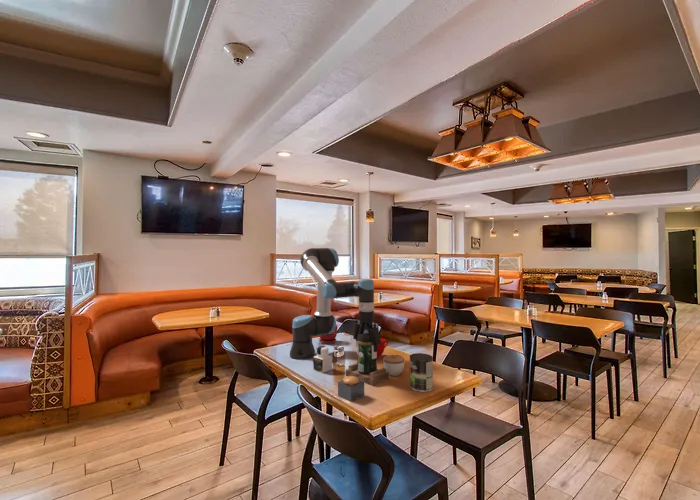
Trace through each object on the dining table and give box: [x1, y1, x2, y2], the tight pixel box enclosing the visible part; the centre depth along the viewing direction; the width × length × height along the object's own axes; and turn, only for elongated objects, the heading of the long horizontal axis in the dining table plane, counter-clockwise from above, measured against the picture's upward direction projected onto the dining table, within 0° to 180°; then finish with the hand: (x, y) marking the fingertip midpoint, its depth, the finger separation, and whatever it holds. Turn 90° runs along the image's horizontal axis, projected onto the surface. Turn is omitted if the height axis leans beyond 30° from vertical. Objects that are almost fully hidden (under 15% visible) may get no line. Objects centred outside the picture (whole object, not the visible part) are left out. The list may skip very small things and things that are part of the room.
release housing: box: [337, 379, 365, 402], centre depth 144 cm, size 8×8×6 cm
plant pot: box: [318, 324, 338, 345], centre depth 232 cm, size 13×13×12 cm
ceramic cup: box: [376, 337, 389, 360], centre depth 199 cm, size 13×17×10 cm
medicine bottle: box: [312, 345, 333, 374], centre depth 177 cm, size 7×7×12 cm
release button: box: [343, 376, 359, 386], centre depth 144 cm, size 6×6×7 cm
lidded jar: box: [382, 354, 405, 377], centre depth 171 cm, size 11×11×9 cm
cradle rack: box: [345, 362, 390, 387], centre depth 166 cm, size 18×12×5 cm, turn 44°
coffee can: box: [409, 352, 434, 393], centre depth 153 cm, size 10×10×14 cm
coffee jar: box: [356, 332, 378, 373], centre depth 166 cm, size 10×8×19 cm
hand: (366, 356), depth 166 cm, fingers open, 9 cm apart
